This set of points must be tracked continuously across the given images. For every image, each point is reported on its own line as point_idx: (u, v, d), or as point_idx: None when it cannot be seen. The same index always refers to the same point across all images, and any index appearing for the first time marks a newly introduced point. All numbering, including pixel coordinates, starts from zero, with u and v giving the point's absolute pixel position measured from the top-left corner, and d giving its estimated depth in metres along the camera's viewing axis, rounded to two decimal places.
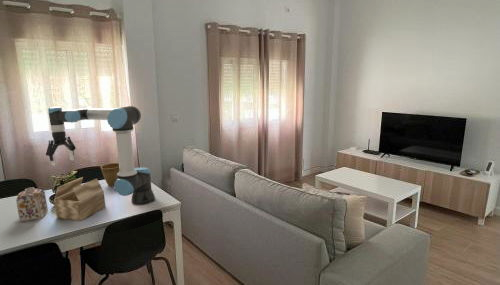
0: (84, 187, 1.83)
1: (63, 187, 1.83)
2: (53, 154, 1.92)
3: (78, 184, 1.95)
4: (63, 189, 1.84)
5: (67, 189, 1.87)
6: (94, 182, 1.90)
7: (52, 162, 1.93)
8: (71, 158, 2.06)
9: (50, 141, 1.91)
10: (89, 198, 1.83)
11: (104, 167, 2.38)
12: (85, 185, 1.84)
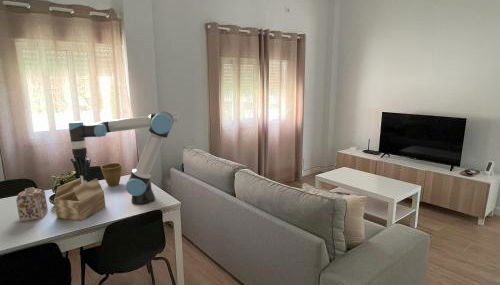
0: (84, 187, 1.83)
1: (63, 187, 1.83)
2: (80, 173, 1.82)
3: (78, 184, 1.95)
4: (63, 189, 1.84)
5: (67, 189, 1.87)
6: (94, 182, 1.90)
7: None
8: None
9: None
10: (89, 198, 1.83)
11: (104, 167, 2.38)
12: (85, 185, 1.84)
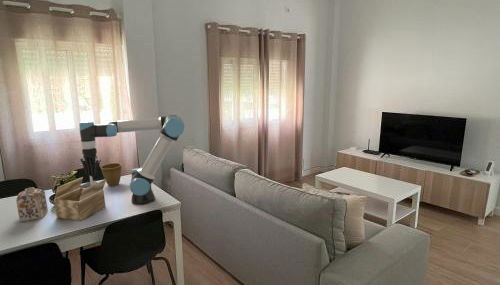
0: (91, 188, 1.81)
1: (63, 187, 1.83)
2: (89, 173, 1.81)
3: (78, 184, 1.95)
4: (63, 189, 1.84)
5: (67, 189, 1.87)
6: (101, 183, 1.89)
7: None
8: None
9: None
10: (89, 198, 1.83)
11: (104, 167, 2.38)
12: (93, 186, 1.82)
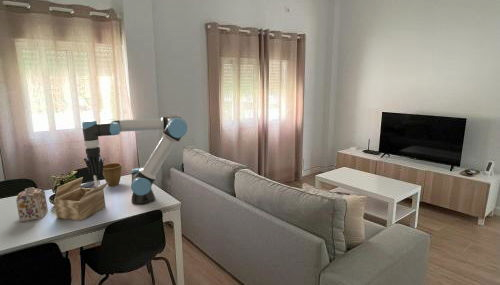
0: (93, 190, 1.81)
1: (63, 187, 1.83)
2: (93, 173, 1.80)
3: (78, 184, 1.95)
4: (63, 189, 1.84)
5: (67, 189, 1.87)
6: (104, 185, 1.89)
7: None
8: None
9: None
10: (89, 198, 1.83)
11: (104, 167, 2.38)
12: (96, 189, 1.82)
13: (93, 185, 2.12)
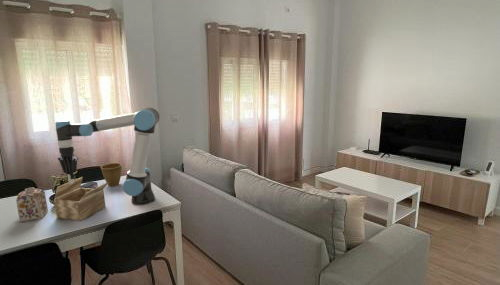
0: (93, 190, 1.81)
1: (63, 187, 1.83)
2: (67, 171, 1.85)
3: (78, 184, 1.95)
4: (63, 189, 1.84)
5: (67, 189, 1.87)
6: (104, 185, 1.89)
7: None
8: None
9: None
10: (89, 198, 1.83)
11: (104, 167, 2.38)
12: (96, 189, 1.82)
13: (93, 185, 2.12)
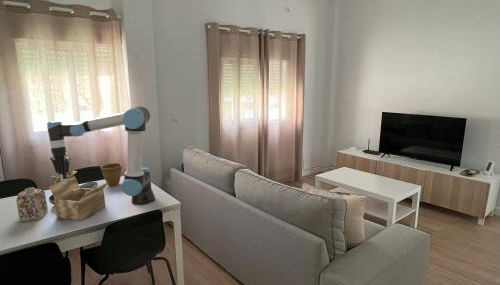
0: (93, 190, 1.81)
1: (56, 186, 1.84)
2: (59, 171, 1.86)
3: (74, 183, 1.96)
4: (58, 188, 1.85)
5: (63, 188, 1.88)
6: (104, 185, 1.89)
7: None
8: None
9: None
10: (89, 198, 1.83)
11: (104, 167, 2.38)
12: (96, 189, 1.82)
13: (93, 185, 2.12)
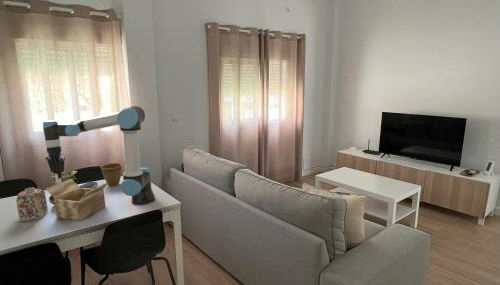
0: (93, 190, 1.81)
1: (53, 188, 1.85)
2: (54, 171, 1.87)
3: (73, 184, 1.96)
4: (56, 190, 1.85)
5: (62, 189, 1.88)
6: (104, 185, 1.89)
7: None
8: None
9: None
10: (89, 198, 1.83)
11: (104, 167, 2.38)
12: (96, 189, 1.82)
13: (93, 185, 2.12)
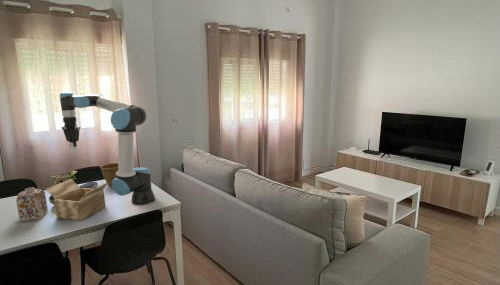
0: (93, 190, 1.81)
1: (53, 188, 1.85)
2: (70, 140, 2.01)
3: (73, 184, 1.96)
4: (56, 190, 1.85)
5: (62, 189, 1.88)
6: (104, 185, 1.89)
7: None
8: None
9: None
10: (89, 198, 1.83)
11: (104, 167, 2.38)
12: (96, 189, 1.82)
13: (93, 185, 2.12)
